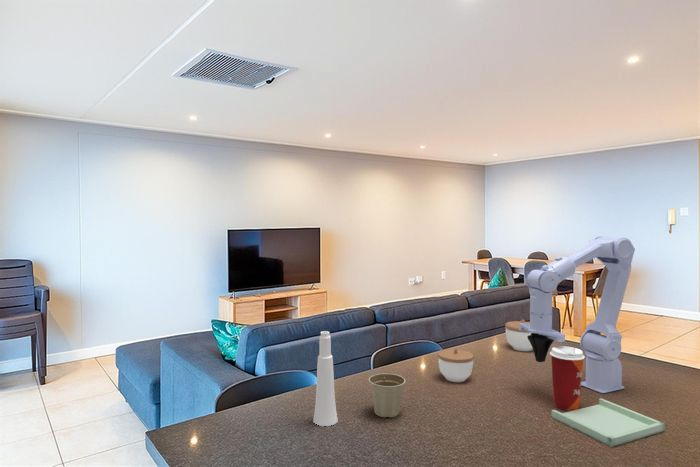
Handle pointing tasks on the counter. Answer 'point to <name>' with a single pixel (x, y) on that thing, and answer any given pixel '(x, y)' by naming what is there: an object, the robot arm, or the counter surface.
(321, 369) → the cosmetic bottle
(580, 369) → the coffee cup
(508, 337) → the lidded bowl
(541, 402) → the counter surface
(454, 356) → the lidded jar
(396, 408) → the flower pot
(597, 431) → the tray
